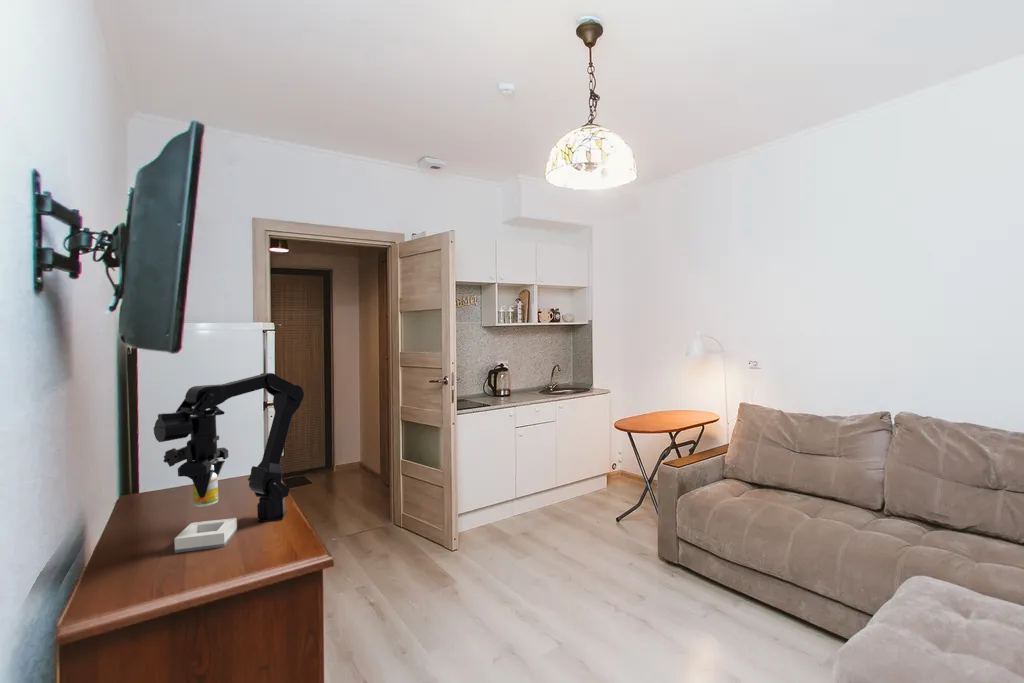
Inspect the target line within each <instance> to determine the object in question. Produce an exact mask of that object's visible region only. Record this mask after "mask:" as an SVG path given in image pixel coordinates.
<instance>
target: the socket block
mask: <svg viewBox="0 0 1024 683" xmlns="http://www.w3.org/2000/svg"><path fill="white" fill-rule="evenodd" d="M237 531H238V520H237V517H230V518H224V519H215V520H214V519H213V520H205V521H195V522H190V523H189V524H188V525H186V527H185V528H184V529H183V530H182V531H181V532H180V533H179V534H178V535H177V536H176V537H174V554H177V553H186V552H194V551H201V550H209V549H217V548H225V547H226V545H227V544H228V543H229V542H230V541H231V540H232V538H233V537H234V535H235V534H236V533H237Z"/></svg>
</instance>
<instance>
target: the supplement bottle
mask: <svg viewBox="0 0 1024 683" xmlns="http://www.w3.org/2000/svg"><path fill="white" fill-rule="evenodd" d="M211 470H214V465H211ZM218 478H219V476H218V477H217V474H216V473H213V474H212V477H211V480H210V483H209V486H208V489H207V492H206V495H205V497H203V498H200V497H199V495H198V492H197V490H196V487H195V485H194V483H193V482H192V483H193V504H194V507H198V508H199V507H202V508H203V507H209V506H212V505H215V504H216V503H218V502H219V485H218V484H219V483H218V482H219V481H218Z"/></svg>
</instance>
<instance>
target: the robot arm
mask: <svg viewBox="0 0 1024 683" xmlns="http://www.w3.org/2000/svg"><path fill="white" fill-rule="evenodd" d="M262 389H264V390H265V391H266V392H267V393H268V394H270V395H271V396H273V398H272V399H273V401H272V405H273V409H274V415H273V419H272V423H271V427H270V431H269V434H268V437H267V440H266V445H265V449H264V452H263V455H262V459H261V461H260V462H259V464H258V465H257V466H254V465H253V466H251V469H250V475H249V477H248V479H247V481H249V482H248V487H249V488H250V490H251V491H252V492H253V493H254V496H256V497H257V498H259V500H258V503H257V519H258V520H257V521H258V523H263V522H264V523H265V522H272V521H281V520H283V519H284V518H285V516H286V514H287V510H286V499H285V498H286V497H289V493H290V488H289V487H288V485H287V486H286V485H285V484H284V483H283V482H282V481H283V480H282V479H283V478H282V477H283V471H282V468H281V461H282V457H283V453H284V450H285V449H284V448H285V444H286V441H287V438H288V433H289V430H290V426H291V422H292V419H293V415H294V414H295V413H296V412H297V411H298V409H299V408H300V407H301V406H302V402H303V399H304V397H305V391H304V390H303V388H302V387H301V385H298V384H293V383H292V382H290V381H288V380H285V379H283V378H281V377H280V376H278V375H277V374H275V373H272V372H262V373H260V374H257V375H253V376H250V377H246V378H242V379H238V380H234V381H229V382H226V383H221V384H220V383H219V384H207V385H206V384H205V385H194V386H192V387H190V388H189V389H188V390H187V391H186V393H185V396H184V400H183V401H182V402H181V404H180V405H179V406H178V407H177V409H176V411H175V412H170V413H168V412H167V413H165V412H163V413H158V414H157V419H156V421H155V424H154V427H153V435H154V437H155V440H156V441H157V442H158V443H164V442H168V441H174V440H180V439H185V438H187V437H189V435H190V439H189V440H187V441H186V446H183V447H180V448H178V449H176V447H173V448H171V449H168V450H166V451H165V454H164V455H163V458H164V459H163V462H164V463H167V465H168V467H170V468H171V467H173V466H175V465H176V464H178V463H180V462H184V461H186V462H184V463H182V464H181V465H180V466H179V467H177V477H185V478H186V477H187V478H189V479H191V480H192V483H194V485H195V487H196V490H197V492H198V495H199V497H200V498H203V497H205V495H206V492H207V489H208V486H209V483H210V480H211V477H212V474H213V473H216V474H217V477H218V478H219V475H220V473H221V471H222V469H223V466H224V464H225V462H226V461H225V460H226V459H228V458H229V450H228V449H227V448H226V447H218V441H219V440H220V435H218V434H217V416H221V415H224V414H225V411H223V410H222V409H220V408H219V405H221V404H223V403H225V402H226V401H227V400H229V399H231V398H233V397H238V396H241V395H245V394H249V393H252V392H255V391H259V390H262ZM220 458H221V459H223V460H220ZM211 465H214V470H211Z"/></svg>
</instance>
